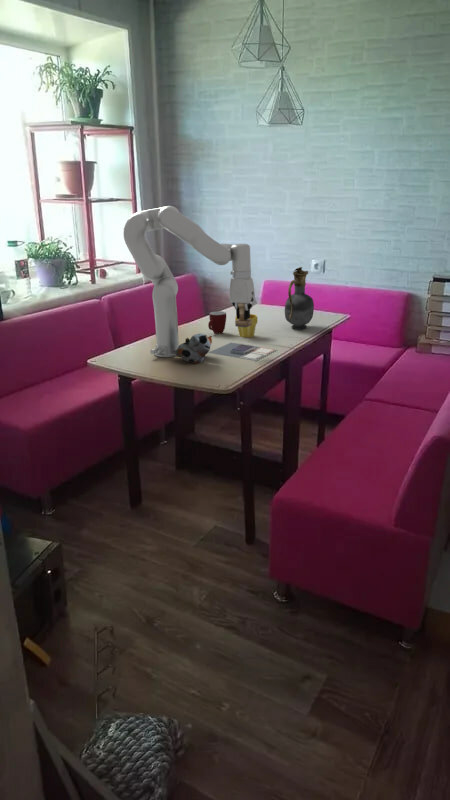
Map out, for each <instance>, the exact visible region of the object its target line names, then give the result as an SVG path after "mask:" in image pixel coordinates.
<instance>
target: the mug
mask: <svg viewBox="0 0 450 800" xmlns="http://www.w3.org/2000/svg"><path fill="white" fill-rule="evenodd" d="M226 324H227V312H226V311H220V310H219V311H217V310H216V311H211V312H209V321H208V329H209V331H212V333H214V335H215V334H221V335H223V333H224V331H225V328H226Z"/></svg>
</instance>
